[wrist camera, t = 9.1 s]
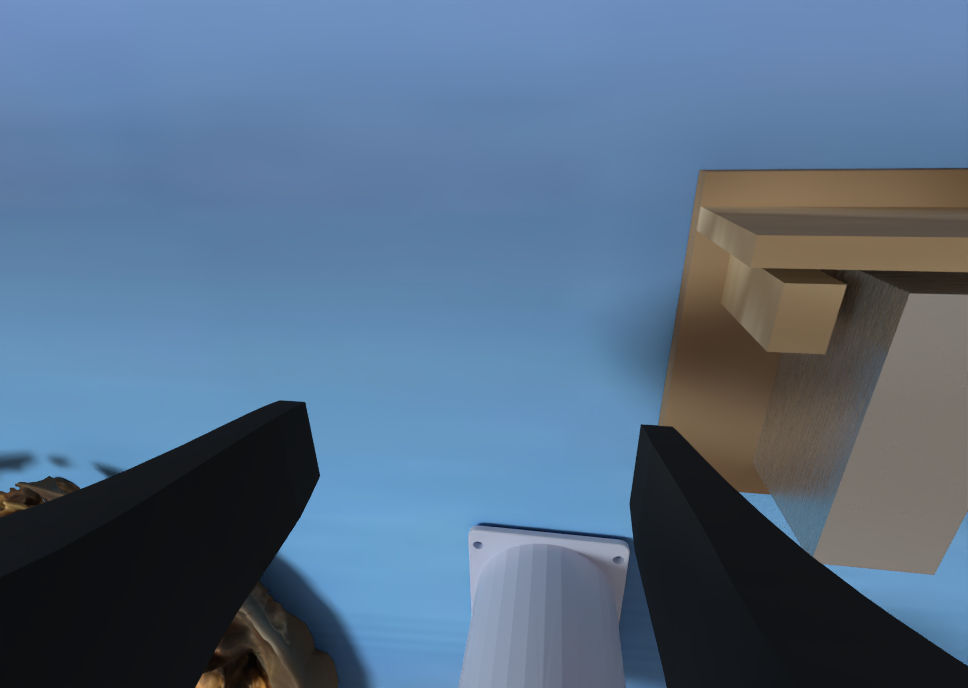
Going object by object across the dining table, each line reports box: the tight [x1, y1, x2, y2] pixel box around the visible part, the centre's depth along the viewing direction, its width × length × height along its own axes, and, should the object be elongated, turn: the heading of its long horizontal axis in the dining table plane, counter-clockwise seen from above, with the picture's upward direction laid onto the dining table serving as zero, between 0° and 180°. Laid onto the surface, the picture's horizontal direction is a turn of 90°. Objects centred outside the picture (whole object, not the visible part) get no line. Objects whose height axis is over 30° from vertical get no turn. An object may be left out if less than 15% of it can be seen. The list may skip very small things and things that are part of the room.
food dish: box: [0, 476, 339, 688], centre depth 31 cm, size 35×33×8 cm
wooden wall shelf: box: [658, 168, 968, 494], centre depth 15 cm, size 13×11×6 cm
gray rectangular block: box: [752, 269, 968, 575], centre depth 15 cm, size 9×4×5 cm, turn 1°
